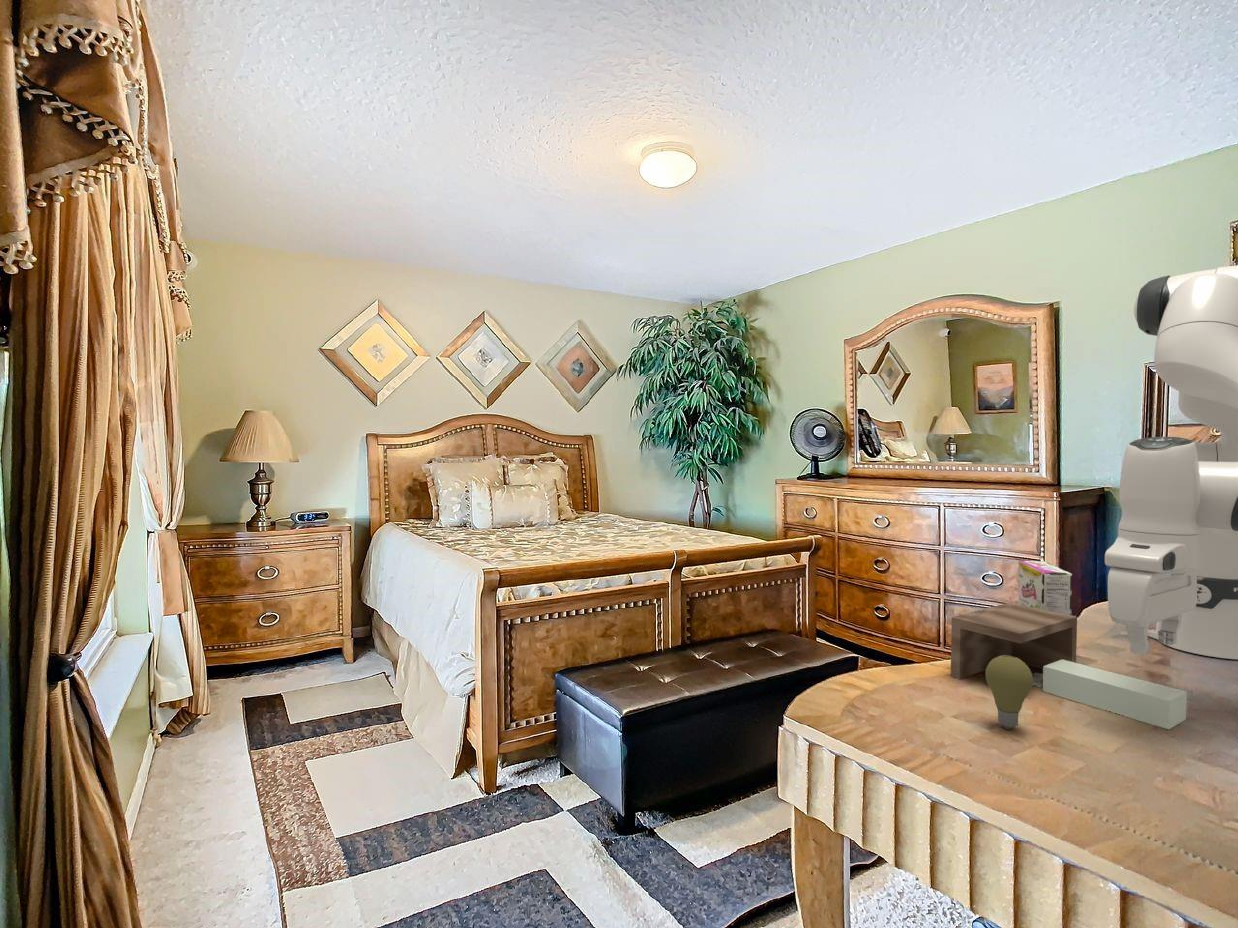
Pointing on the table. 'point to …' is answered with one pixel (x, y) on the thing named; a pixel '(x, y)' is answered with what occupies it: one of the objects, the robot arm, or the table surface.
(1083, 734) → the table surface
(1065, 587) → the candy bar box
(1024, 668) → the light bulb
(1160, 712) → the mint green beam
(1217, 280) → the robot arm
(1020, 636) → the walnut shelf
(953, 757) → the table surface
